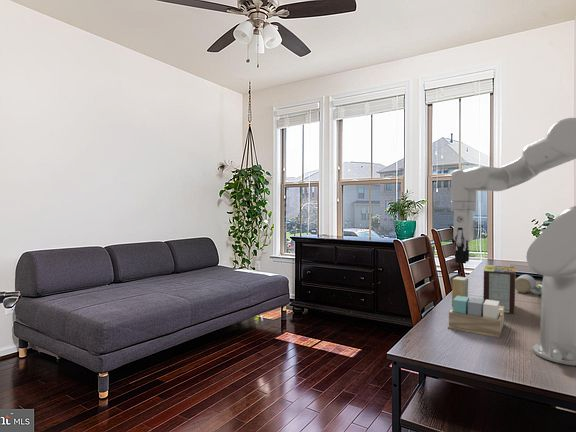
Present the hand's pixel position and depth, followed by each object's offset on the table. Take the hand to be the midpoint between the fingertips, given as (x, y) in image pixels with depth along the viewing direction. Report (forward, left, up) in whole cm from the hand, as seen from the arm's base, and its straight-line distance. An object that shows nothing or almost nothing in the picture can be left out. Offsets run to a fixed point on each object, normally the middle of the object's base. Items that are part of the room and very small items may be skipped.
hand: (462, 261), depth 121 cm
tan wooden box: (+2, -4, -21) cm, 22 cm away
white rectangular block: (0, -9, -17) cm, 19 cm away
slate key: (0, -4, -17) cm, 18 cm away
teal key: (0, 0, -17) cm, 17 cm away
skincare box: (+20, +4, -22) cm, 30 cm away
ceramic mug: (+70, -17, -22) cm, 75 cm away
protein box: (+32, -8, -22) cm, 40 cm away
